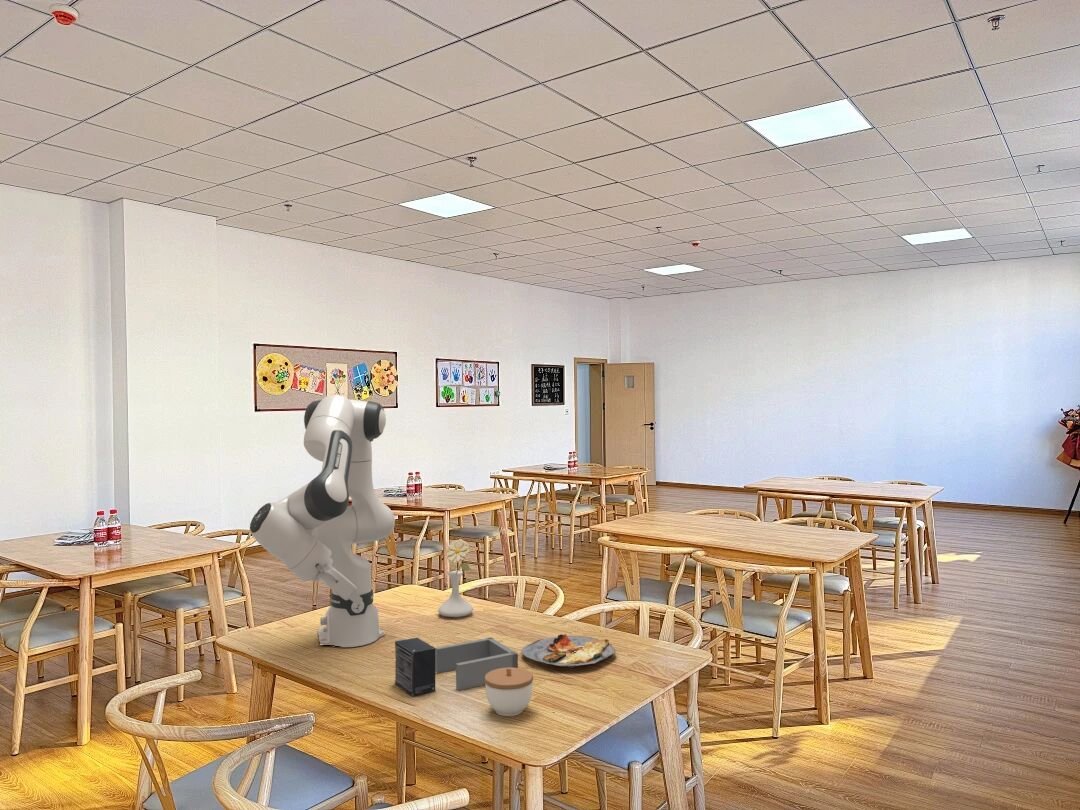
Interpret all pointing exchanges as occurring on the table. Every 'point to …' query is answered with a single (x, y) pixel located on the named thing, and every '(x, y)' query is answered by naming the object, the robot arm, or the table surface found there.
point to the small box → (415, 666)
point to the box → (474, 660)
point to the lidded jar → (508, 690)
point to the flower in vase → (456, 582)
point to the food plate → (568, 650)
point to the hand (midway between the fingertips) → (355, 598)
